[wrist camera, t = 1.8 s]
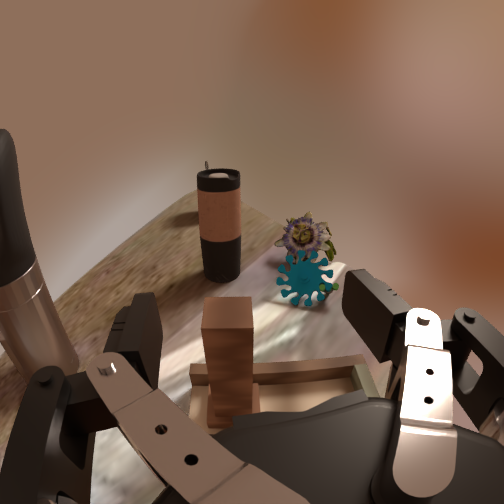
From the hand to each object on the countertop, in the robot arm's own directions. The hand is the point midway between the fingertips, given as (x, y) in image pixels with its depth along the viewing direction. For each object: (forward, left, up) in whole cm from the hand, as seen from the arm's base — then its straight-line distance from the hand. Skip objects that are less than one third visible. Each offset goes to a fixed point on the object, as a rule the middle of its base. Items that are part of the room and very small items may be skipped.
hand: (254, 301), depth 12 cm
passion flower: (+33, +36, -24) cm, 54 cm away
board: (+7, +6, -24) cm, 26 cm away
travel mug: (+14, +38, -24) cm, 47 cm away
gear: (+24, +24, -24) cm, 42 cm away
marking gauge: (+2, +8, -22) cm, 23 cm away
